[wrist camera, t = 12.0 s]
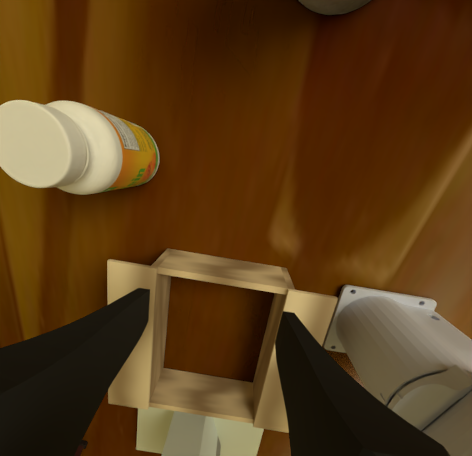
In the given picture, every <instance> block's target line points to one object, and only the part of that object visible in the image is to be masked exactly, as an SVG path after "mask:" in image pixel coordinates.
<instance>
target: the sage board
mask: <svg viewBox="0 0 472 456" xmlns="http://www.w3.org/2000/svg"><path fill="white" fill-rule="evenodd" d="M173 414H174V411H172V410H166V409H160V408H154V407H149V408H148V410H146V409H140V408H138V422H137V444H136V450H142V451H148V452H154V453H160V454H162V452H163V448H164V445H165V442H166V438H167V435H168V431H169V428H170V424H171V421H172V417H173ZM213 420H214V423H215V427H216V430H217V434H218V437H219V441H220V444H221V450H220V456H256V455H257V452H258V448H259V445H260V441H261V437H262V434H263V430H264V429H262V428H256V427H253V424H252V423H246V422H240V421H233V420H227V419H221V418H215V417H213Z"/></svg>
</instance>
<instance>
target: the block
mask: <svg viewBox="0 0 472 456" xmlns="http://www.w3.org/2000/svg"><path fill="white" fill-rule="evenodd" d="M220 450H221V444H220V441H219V437H218V434H217V430H216V427H215V423H214V420H213V417H209V416H203V415H197V414H191V413H185V412H178V411H174V414H173V417H172V421H171V424H170V428H169V431H168V435H167V438H166V442H165V445H164V448H163V452H162V455H161V456H220Z"/></svg>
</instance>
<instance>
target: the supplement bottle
mask: <svg viewBox="0 0 472 456" xmlns="http://www.w3.org/2000/svg"><path fill="white" fill-rule="evenodd" d="M0 166H1V168H2V169H3V170H4V171H5V172H6V173H7V174H8V175H9V176H10V177H12V178H13V179H15V180H16V181H18V182H20V183H22V184H24V185H27V186H30V187H35V188H50V187H57V188H59V189H61V190H63V191H66V192H69V193H73V194H80V195H87V194H95V193H100V192H106V191H111V190H117V189H122V188H128V187H134V186H139V185H142V184H144V183H146V182H148V181H149V180H151V179H152V177H153V176H154V175H155V173H156V172H157V169H158V166H159V151H158V148H157V145H156V143H155V141H154V139H153V138H152V136H151V135H150V134H149V133H148V132H147V131H146V130H144V129H143V128H142V127H140V126H138V125H136V124H134V123H131V122H129V121H126V120H124V119H121V118H118V117H116V116H113V115H110V114H108V113H105V112H102V111H100V110H97V109H95V108H92V107H90V106H87V105H84V104H81V103H77V102H73V101H56V102H51V103H49V104H46V105H42V104H38V103H34V102H30V101H26V100H14V101H9V102H6V103H4V104H2V105H0Z"/></svg>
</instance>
